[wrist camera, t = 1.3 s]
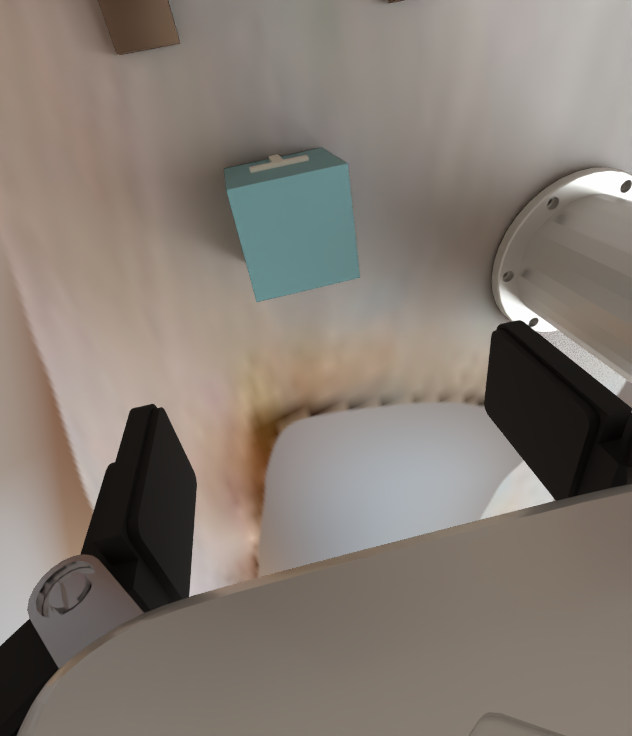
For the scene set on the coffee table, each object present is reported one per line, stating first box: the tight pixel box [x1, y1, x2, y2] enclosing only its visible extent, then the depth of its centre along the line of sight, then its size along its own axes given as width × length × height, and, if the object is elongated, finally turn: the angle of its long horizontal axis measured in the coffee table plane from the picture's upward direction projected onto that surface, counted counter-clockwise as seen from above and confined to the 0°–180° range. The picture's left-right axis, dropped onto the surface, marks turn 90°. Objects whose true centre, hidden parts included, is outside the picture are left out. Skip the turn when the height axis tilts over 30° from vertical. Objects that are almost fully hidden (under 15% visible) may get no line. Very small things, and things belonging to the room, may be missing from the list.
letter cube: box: [224, 148, 360, 302], centre depth 24 cm, size 6×6×6 cm
